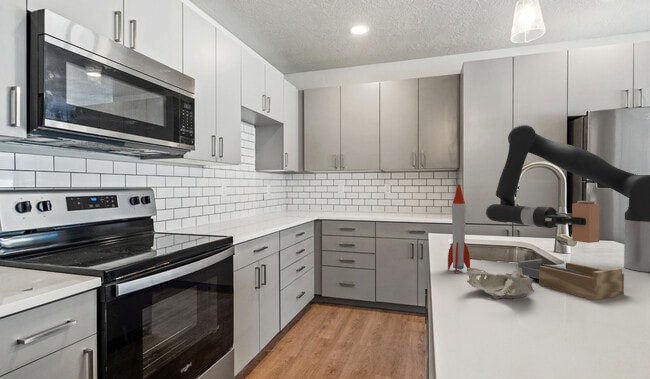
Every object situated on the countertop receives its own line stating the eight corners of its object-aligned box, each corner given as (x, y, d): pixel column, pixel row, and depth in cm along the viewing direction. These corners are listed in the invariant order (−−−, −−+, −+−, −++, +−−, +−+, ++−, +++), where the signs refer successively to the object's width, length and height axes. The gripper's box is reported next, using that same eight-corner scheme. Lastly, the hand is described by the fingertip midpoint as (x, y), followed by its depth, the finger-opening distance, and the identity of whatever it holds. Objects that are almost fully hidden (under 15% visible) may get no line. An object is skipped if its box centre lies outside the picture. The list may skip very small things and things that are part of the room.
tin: (582, 239, 110) (582, 200, 110) (599, 241, 106) (599, 201, 105) (572, 240, 108) (572, 201, 108) (589, 242, 104) (589, 201, 104)
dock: (567, 280, 104) (567, 257, 104) (623, 294, 90) (624, 268, 90) (539, 284, 99) (539, 261, 99) (594, 300, 86) (594, 273, 85)
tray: (539, 270, 111) (539, 259, 111) (582, 280, 99) (582, 268, 99) (517, 273, 107) (518, 261, 107) (559, 284, 95) (559, 271, 95)
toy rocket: (460, 268, 118) (461, 184, 118) (470, 272, 112) (471, 183, 112) (446, 269, 117) (447, 183, 117) (455, 273, 111) (456, 183, 111)
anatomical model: (455, 265, 88) (494, 250, 104) (456, 299, 88) (494, 279, 105) (518, 277, 77) (549, 258, 93) (518, 316, 77) (549, 290, 93)
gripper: (525, 207, 119) (576, 210, 103) (551, 205, 124) (604, 208, 108) (524, 228, 119) (576, 234, 103) (551, 225, 124) (604, 231, 108)
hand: (590, 221), depth 106 cm, fingers closed on tin, 5 cm apart
